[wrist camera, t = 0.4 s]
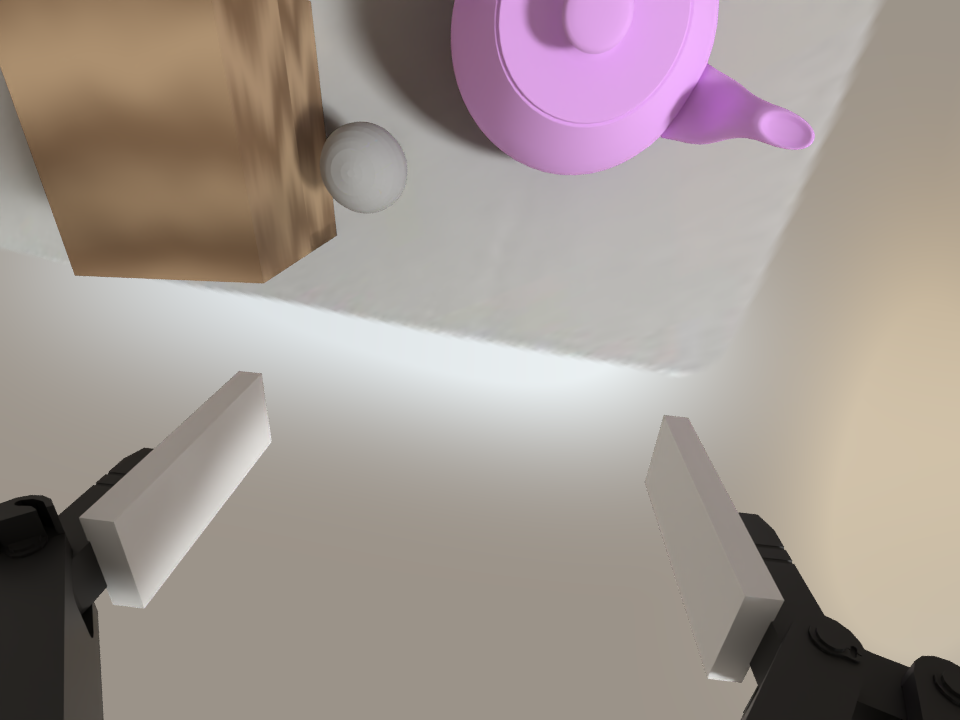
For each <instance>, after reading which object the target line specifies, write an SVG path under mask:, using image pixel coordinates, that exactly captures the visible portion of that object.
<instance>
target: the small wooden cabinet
mask: <svg viewBox="0 0 960 720" xmlns="http://www.w3.org/2000/svg"><path fill="white" fill-rule="evenodd" d="M0 67H1V70H2V73H3V75H4V78H5V81H6V84H7V87H8V89H9V92H10V95H11V98H12V101H13V103H14V106H15V109H16V112H17V115H18V117H19V120H20V123H21V126H22V129H23V131H24V134H25V137H26V140H27V143H28V145H29V148H30V151H31V154H32V157H33V159H34V162H35V165H36V168H37V171H38V173H39V176H40V179H41V182H42V185H43V187H44V190H45V193H46V196H47V199H48V201H49V204H50V207H51V210H52V213H53V216H54V218H55V221H56V224H57V227H58V230H59V232H60V235H61V238H62V241H63V244H64V246H65V249H66V252H67V255H68V258H69V260H70V263H71V266H72V269H73V271H74V274H75V276H98V277H99V276H100V277H122V278H146V279H171V280H195V281H220V282H244V283H265V282H267V281H268V280H270V279H271V278H273V277H274V276H276V275H277V274H279V273H280V272H282V271H283V270H285V269H286V268H288V267H289V266H291V265H292V264H294V263H296V262H297V261H299V260H300V259H302V258H303V257H305V256H306V255H308V254H309V253H311V252H312V251H314V250H315V249H317V248H318V247H320V246H321V245H323V244H324V243H326V242H328V241H329V240H331V239H332V238H334V237H335V236H337V233H336V224H335V215H334V206H333V197H332V196H331V195H330V193H329V192H328V190H327V189H326V187H325V185H324V183H323V180H322V177H321V172H320V156H321V152H322V149H323V146H324V144H325V142H326V134H325V125H324V116H323V107H322V99H321V90H320V81H319V72H318V63H317V54H316V45H315V36H314V27H313V18H312V9H311V2H310V1H308V0H0Z"/></svg>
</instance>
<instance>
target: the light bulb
mask: <svg viewBox="0 0 960 720" xmlns="http://www.w3.org/2000/svg"><path fill="white" fill-rule="evenodd" d="M320 172H321V177H322V180H323V183H324V185H325V187H326V189H327V190H328V192H329V193H330V195H331V196H332V197H333V198H334V199H335V200H336V201H337V202H338V203H340V204H341V205H343V206H344V207H346V208H348V209H350V210H352V211H355V212H359V213H375V212H379V211H381V210H384V209H386V208H387V207H389V206H391V205H392V204H393V203H394V202H395V201H396V200H397V199H398V198H399V197H400V195H401V194H402V192H403V190H404V188H405V185H406V180H407V162H406V157H405V154H404V152H403V150H402V148H401V146H400V144H399V143H398V142H397V140H396V139H395V138H394V137H393V136H392V135H391V134H390V133H389V132H388V131H386V130H385V129H384V128H382V127H380V126H378V125H376V124H373V123H368V122H354V123H349V124H346V125H343V126H341V127H339V128H337V129H336V130H335V131H334V132H332V133H331V135H330V136H329V137H328V138H327V140H326V142H325V144H324V146H323V149H322V152H321V156H320Z"/></svg>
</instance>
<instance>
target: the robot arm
mask: <svg viewBox="0 0 960 720" xmlns="http://www.w3.org/2000/svg"><path fill="white" fill-rule="evenodd" d="M270 443H271V434H270V428H269V421H268V414H267V407H266V400H265V393H264V387H263V380H262V374H261V373H252V372H242V371H239V372H238V373H236V374H235V375H234V376H233V377H232V378H231V379H230V380H229V381H228V382H227V383H225V384H224V385H223V386H222V387H221V388H220V389H219V390H218V391H217V392H216V393H215V394H214V395H212V396H211V397H210V398H209V399H208V400H207V401H206V402H205V403H204V404H203V405H201V406H200V407H199V408H198V409H197V410H196V411H195V412H194V413H193V414H192V415H191V416H189V417H188V418H187V419H186V420H185V421H184V422H183V423H182V424H181V425H180V426H179V427H178V428H176V429H175V430H174V431H173V432H172V433H171V434H170V435H169V436H168V437H166V438H165V439H164V440H163V441H162V442H161V443H160V444H159V445H158V446H157V447H156V448H154V449H150V448H143V449H141V450H139V451H137V452H135V453H133V454H132V455H130V456H128V457H126V458H124V459H123V460H122V461H120V462H119V463H118V464H117V465H116V466H115V467H114V468H112V469H111V470H110V471H109V473H108V475H104V476H103V477H102V478H101V479H100V480H99V481H97V482H96V485H93V486H92V487H91V488H89V489H88V490H87V491H86V492H85V493H84V494H83V495H81V496H80V497H79V498H78V499H77V500H76V501H75V502H73V503H72V504H71V505H70V506H69V507H68V508H67V509H65V510H64V511H63V512H62V513H61V514H60V515H57V512H56V510H55V507H54V505H53V503H52V500H51V499H50V498H47V497H45V496H43V495H42V496H39V495H29V496H23V497H18V498H14V499H12V500H9V501H6V502H3V503H0V720H103V701H102V684H101V683H102V682H101V664H100V645H99V626H98V611H97V608H96V606H95V603H94V601H95V600H96V598H98V596H99V595H100V594H101V593H102V592H103V591H104V589H105V588H107V590H108V593H109V596H110V598H111V601H112V603H113V605H121V606H129V607H137V608H145V607H146V605H147V604H148V603H149V602H150V600H151V599H152V598H153V596H154V595H155V594H156V592H157V591H158V590H159V588H160V587H161V586H162V584H163V583H164V582H165V581H166V579H167V578H168V577H169V575H170V574H171V573H172V571H173V570H174V569H175V567H176V566H177V565H178V564H179V562H180V561H181V560H182V558H183V557H184V556H185V554H186V553H187V552H188V550H189V549H190V548H191V546H192V545H193V544H194V543H195V541H196V540H197V538H198V537H199V536H200V535H201V533H202V532H203V531H204V529H205V528H206V527H207V525H208V524H209V523H210V522H211V520H212V519H213V518H214V516H215V515H216V514H217V512H218V511H219V510H220V509H221V507H222V506H223V505H224V503H225V502H226V501H227V499H228V498H229V497H230V495H231V494H232V493H233V492H234V490H235V489H236V488H237V486H238V485H239V484H240V482H241V481H242V480H243V478H244V477H245V476H246V474H247V473H248V472H249V471H250V469H251V468H252V466H253V465H254V464H255V463H256V461H257V460H258V459H259V457H260V456H261V455H262V454H263V452H264V451H265V449H266V448H267V447H268V445H269V444H270ZM645 485H646V488H647V491H648V494H649V497H650V501H651V504H652V506H653V510H654V513H655V516H656V519H657V522H658V526H659V528H660V532H661V535H662V538H663V541H664V544H665V547H666V551H667V554H668V557H669V560H670V563H671V566H672V570H673V572H674V576H675V579H676V582H677V585H678V588H679V591H680V594H681V598H682V601H683V604H684V607H685V610H686V613H687V616H688V620H689V623H690V626H691V629H692V632H693V635H694V638H695V642H696V645H697V647H698V651H699V654H700V657H701V660H702V664H703V667H704V670H705V673H706V676H707V678H708V679H716V680H723V681H732V682H740V683H741V682H742V681H743V679H744V677H745V675H746V674H747V671H748V670H749V667H751V669H752V671H753V674H754V677H755V679H756V681H757V684H758V686H757V688H756V690H755V692H754V694H753V695H752V697H751V699H750V701H749V703H748V704H747V706H746V708H745V710H744V712H743V713H744V714H743V716H742V718H741V720H960V667H959V666H958V665H956V664H954V663H952V662H950V661H948V660H945V659H942V658H939V657H935V656H921V657H920V658H918V659H917V660H916V661H914V663H913V664H912V665H911V667H907V666H905V665H902V664H900V663H897V662H894V661H892V660H889V659H886V658H884V657H881V656H879V655H876V654H873V653H871V652H869V651H866V650H865V649H864V648H863V646H862V645H861V643H860V642H859V640H858V639H857V638H856V637H855V636H854V635H853V634H852V633H851V631H849V630H848V629H846V628H845V627H844V626H842V625H841V624H840V623H838V622H837V621H835V620H832V619H831V618H829V617H826V616H825V615H824V614H823V612H822V611H821V609H820V607H819V605H818V604H817V602H816V600H815V599H814V597H813V595H812V594H811V592H810V590H809V589H808V587H807V585H806V583H805V582H804V580H803V579H802V577H801V575H800V573H799V571H798V570H797V568H796V566H795V565H794V564H792V560H791V558H790V556H789V555H788V553H787V551H786V550H784V546H783V544H782V543H781V541H780V539H779V538H778V536H777V534H776V533H775V531H774V530H773V529H772V528H771V527H770V526H769V525H768V524H767V523H766V522H765V521H764V520H763V519H762V518H760V517H759V515H756V514H747V513H738V512H737V510H736V508H735V506H734V504H733V502H732V500H731V498H730V496H729V495H728V493H727V491H726V489H725V487H724V485H723V483H722V481H721V479H720V477H719V475H718V474H717V472H716V470H715V468H714V466H713V464H712V462H711V460H710V459H709V457H708V455H707V453H706V451H705V449H704V447H703V445H702V443H701V441H700V439H699V437H698V436H697V434H696V432H695V430H694V428H693V426H692V424H691V422H690V420H689V418H685V417H676V416H667V415H664V416H663V420H662V424H661V427H660V431H659V434H658V438H657V442H656V445H655V448H654V452H653V455H652V459H651V462H650V466H649V469H648V473H647V476H646V480H645Z"/></svg>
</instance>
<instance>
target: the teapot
mask: <svg viewBox="0 0 960 720" xmlns="http://www.w3.org/2000/svg"><path fill="white" fill-rule="evenodd" d="M718 9H719V0H455V2H454V7H453V14H452V23H451V53H452V61H453V68H454V72H455V76H456V81H457V84H458V87H459V90H460V93H461V96H462V98H463V101H464V103H465V105H466V107H467V109H468V111H469V113H470V114H471V116H472V118H473V119H474V121H475V122H476V124H477V125H478V127H479V128H480V129H481V130H482V132H483V133H484V134H485V135H486V136H487V137H488V138H489V140H490V141H491V142H493V143H494V144H495V145H496V146H497V147H498V148H499V149H500V150H502V151H503V152H504V153H506V154H507V155H509V156H510V157H512V158H513V159H515V160H516V161H518V162H521V163H523V164H525V165H527V166H529V167H531V168H534V169H537V170H540V171H543V172H548V173H554V174H560V175H581V174H590V173H594V172H599V171H603V170H606V169H609V168H611V167H614V166H617V165H619V164H621V163H623V162H625V161H627V160H629V159H631V158H632V157H634V156H636V155H637V154H639V153H640V152H641V151H643V150H644V149H646V148H647V147H649V146H650V145H651V144H652V143H653V142H654V141H655V140H657V139H658V138H659V137H660V136H661V137H662V138H666V139H671V140H676V141H681V142H685V143H690V144H709V143H714V142H718V141H723V140H727V139H731V138H749V139H754V140H758V141H761V142H764V143H767V144H770V145H772V146H775V147H780V148H784V149H794V150H797V149H803V148H806V147H808V146H810V145H811V144H812V143H813V140H814V138H815V136H814V131H813V129H812V127H811V126H810V125H809V124H808V123H807V122H806V121H805V120H804V119H803V118H801V117H800V116H799V115H797V114H795V113H793V112H791V111H789V110H787V109H784V108H782V107H779V106H776V105H774V104H771V103H769V102H767V101H764V100H762V99H760V98H758V97H757V96H755V95H753V94H752V93H751V92H749V91H748V90H747V89H746V88H745V87H743V86H742V85H741V84H739V83H738V82H737V81H735V80H734V79H732V78H730V77H729V76H727V75H725V74H723V73H722V72H720V71H718V70H716V69H715V68H713V67H712V66H710V65H709V64H707V63H708V59H709V56H710V53H711V50H712V47H713V43H714V38H715V33H716V28H717V21H718Z"/></svg>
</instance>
